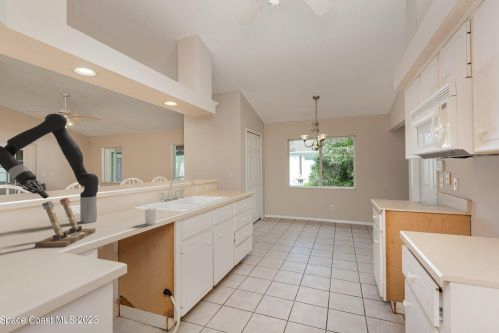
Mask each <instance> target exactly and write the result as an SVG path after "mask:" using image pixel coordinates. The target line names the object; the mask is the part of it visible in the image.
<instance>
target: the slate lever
mask: <svg viewBox="0 0 499 333" xmlns="http://www.w3.org/2000/svg"><path fill="white" fill-rule="evenodd" d="M41 205H42V208H43V210H45V211H46V214H47V216H48V219H49V221H50V223H51V226H52V228H53V232H54V235H61V237H63V236H64V233H63V232H64V231H63V229H62V227H61V225H60V222H59V220H58V216H57V215H56V212H55V209H54V202H53V201H52V200H50V201H49V200H48V201H45V202H42V203H41Z"/></svg>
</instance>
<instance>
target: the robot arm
mask: <svg viewBox="0 0 499 333" xmlns="http://www.w3.org/2000/svg"><path fill="white" fill-rule="evenodd" d="M67 123H68V121H67V119H66V117H65V116H64V115H63V114H60V113H49V114H47V115H46V116H45V117H44V121H42V122H40V123H39V124H38V125H36V126H33V127H31V128H30V129H29V128H28V129H27V130H25V131H23V132H21V133H18V134H16V135H15V136H13V137H11V138H9V139H8V140H6V145H4V146H2V145H0V166H1V168H2V169H3V170H4V171H6V172H7V173H8V175H10V177H11V178H12V179H13V180H14V181H15V182H17V183H18V185H20V186H22V190H24V191H27V192H29V193H32V194H37V195H39V196H40V197H41V198H42V199H48V198H49V196H50V195H49V194H48V193H47V192H46V191H47V185H46V183H45V182H43V183H42V182H40V181H39V180H37V175H35V174H34V173H33V172H32V171H31V169H29V168H28V167H27V166H25V165H23V163H21V161H19V160H18V159H17V158H15V157H14V156H15V155H16V154H17V153H19V151H21V150H22V149H25V148H26V147H27V146H29V145H31V144H32V143H34V142H36V141H38V140H39V139H40V138H43V137H44V136H46V135H47V134H50V133H52V134H53V136H54V138H55V140H56V142H57V144H58V146H59V149H60V151H61V153H62V154H63V156H64V157H65V159H66V161H67V162H68V164H69V166H70V168H71V170H72V171H73V173H74V176H75V179H76V181H77V183H78V185H80V186H82V187H83V191H82V192H80V194H79V199H80V200H79V203H80V204H79V206H80V209H79V210H80V211H79V212H80V213H79V214H80V215H79V222H80V223H82V224H85V223H93V222H97V220H98V216H97V215H98V210H97V209H98V207H97V194H98V192H99V178H98V175H97V174H94V173H88V171H87V169H86V168H85V166H84V156H83V153H82V151H81V148H80V146H79V145H78V144H77V143H76V142H75V140H74V138H73V137H72V136H71V135H70V134H69V132H68V131H67V128H66V125H67Z"/></svg>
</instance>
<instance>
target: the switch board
mask: <svg viewBox="0 0 499 333" xmlns="http://www.w3.org/2000/svg"><path fill="white" fill-rule="evenodd" d="M78 227H79V230H77V228H72V227H71V228H69V229H67V230H65V231H62V232H63V233H64V236H63V237H61V235H56V234H54V235H52V236H48V237H47V238H44V239H42V240H39V241H37V242H35V243H34V248H56V247H57V248H58V247H61V248H63V247H69V246H70V244H71V245H72V243H73V244H74V243H76V242H78V241H80V240H82V239H84V238H86V237H88V236H90V235H92V234H95V233H96V228H83V226H82V225H78ZM62 246H63V247H62Z"/></svg>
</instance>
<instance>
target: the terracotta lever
mask: <svg viewBox="0 0 499 333" xmlns="http://www.w3.org/2000/svg"><path fill="white" fill-rule="evenodd" d="M59 203H60V205H61V206H63V209H64V212H65V214H66V217H67V218H68V222H69V225H70V226H71V228H77V230H79V227H78V226H79V225H78V223H77V220H76V217H75V214H74V212H73V209H72V207H71V205H70V203H71V201H70V198H69V197H64V198H61V199H59Z"/></svg>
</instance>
